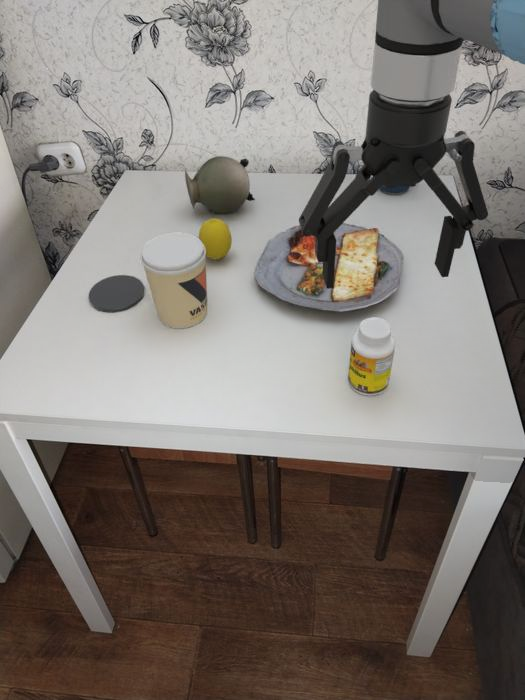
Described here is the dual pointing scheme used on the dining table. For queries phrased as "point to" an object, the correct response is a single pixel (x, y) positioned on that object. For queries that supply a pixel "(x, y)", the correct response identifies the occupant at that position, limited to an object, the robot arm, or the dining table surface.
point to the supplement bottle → (371, 357)
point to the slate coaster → (116, 293)
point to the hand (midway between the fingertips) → (384, 276)
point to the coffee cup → (177, 278)
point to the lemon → (215, 238)
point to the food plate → (349, 274)
